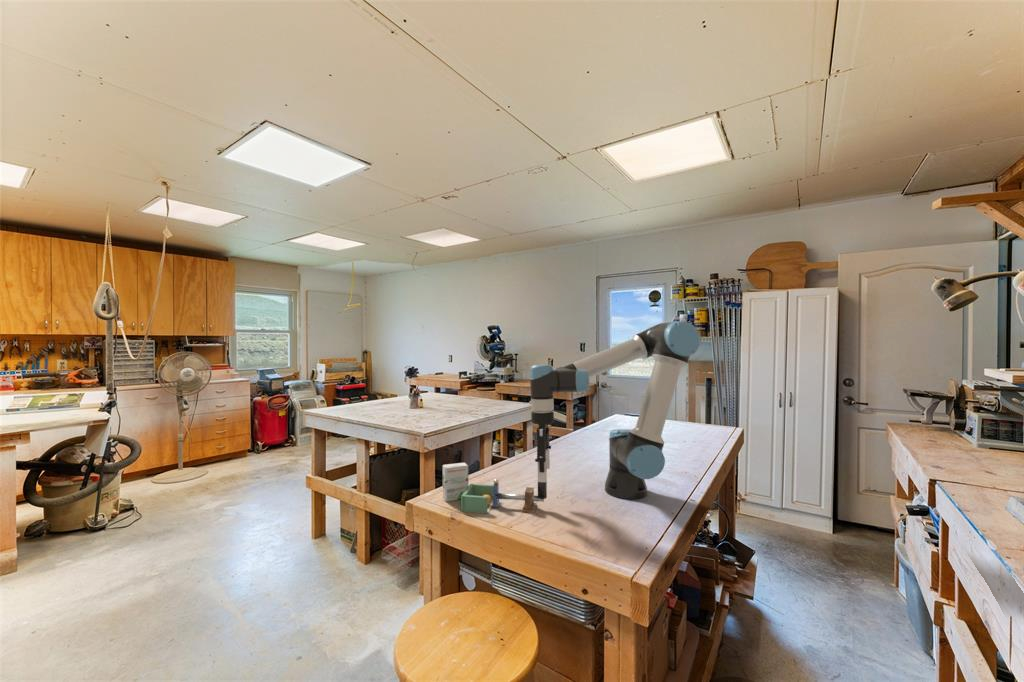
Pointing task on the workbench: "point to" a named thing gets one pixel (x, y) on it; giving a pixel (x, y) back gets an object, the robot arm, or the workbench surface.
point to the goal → (476, 498)
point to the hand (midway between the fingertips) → (544, 474)
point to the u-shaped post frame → (496, 495)
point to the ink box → (454, 481)
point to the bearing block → (529, 501)
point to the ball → (488, 499)
